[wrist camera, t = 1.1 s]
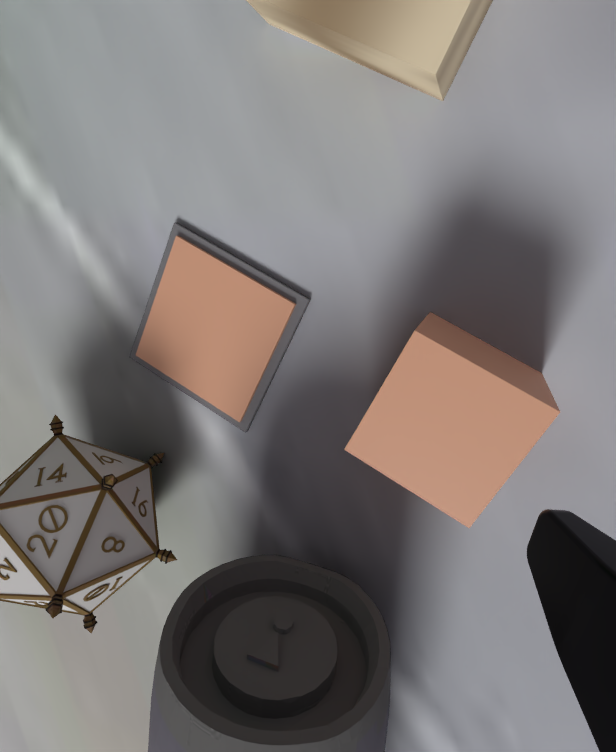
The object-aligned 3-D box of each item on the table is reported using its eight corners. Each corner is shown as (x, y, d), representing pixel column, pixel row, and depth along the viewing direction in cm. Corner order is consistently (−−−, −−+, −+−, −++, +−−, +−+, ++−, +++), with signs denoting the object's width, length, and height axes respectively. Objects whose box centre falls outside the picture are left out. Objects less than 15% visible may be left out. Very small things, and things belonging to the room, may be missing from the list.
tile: (310, 299, 19) (307, 300, 19) (247, 431, 22) (243, 434, 21) (177, 222, 20) (171, 222, 20) (132, 356, 23) (126, 357, 23)
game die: (154, 428, 28) (-5, 358, 20) (248, 509, 24) (91, 462, 15) (63, 558, 27) (-145, 542, 19) (142, 670, 23) (-88, 711, 14)
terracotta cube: (541, 372, 17) (560, 411, 13) (472, 466, 19) (469, 528, 15) (430, 311, 18) (414, 330, 14) (373, 407, 19) (344, 449, 15)
